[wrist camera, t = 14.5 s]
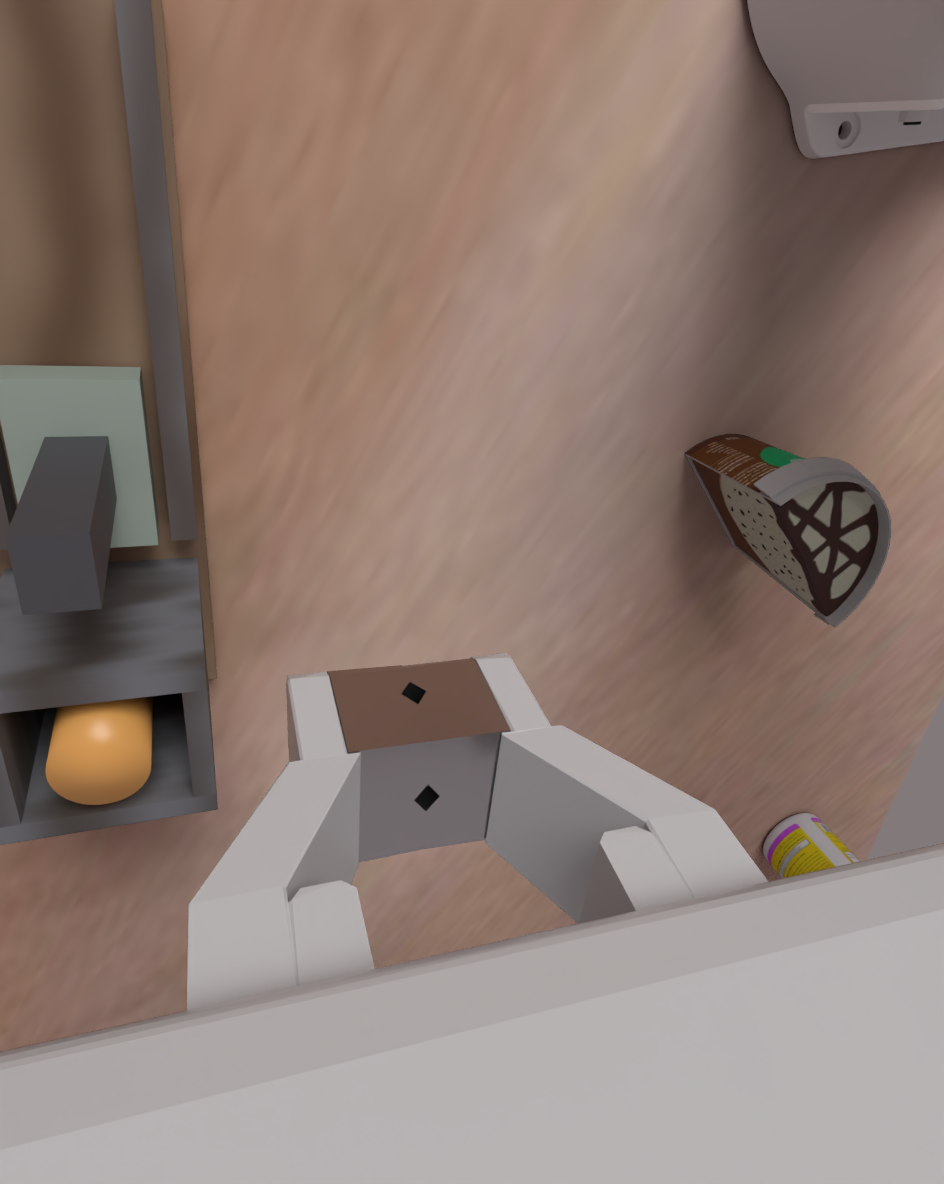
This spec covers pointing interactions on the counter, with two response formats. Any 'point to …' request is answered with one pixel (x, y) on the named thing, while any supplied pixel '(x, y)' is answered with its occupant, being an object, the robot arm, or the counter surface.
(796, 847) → the supplement bottle
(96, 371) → the carriage
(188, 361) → the rail
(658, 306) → the counter surface
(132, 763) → the button
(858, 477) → the food container
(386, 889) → the counter surface
